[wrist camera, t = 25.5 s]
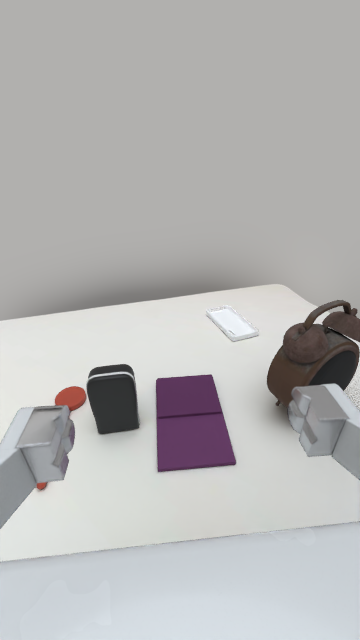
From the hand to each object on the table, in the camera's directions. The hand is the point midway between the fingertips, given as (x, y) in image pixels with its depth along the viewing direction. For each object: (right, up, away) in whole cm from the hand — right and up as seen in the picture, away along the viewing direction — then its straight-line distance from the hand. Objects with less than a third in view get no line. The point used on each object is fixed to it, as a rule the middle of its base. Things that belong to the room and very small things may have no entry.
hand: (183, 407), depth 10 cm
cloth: (+1, -13, +37) cm, 39 cm away
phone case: (+13, +2, +63) cm, 64 cm away
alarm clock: (+21, -12, +38) cm, 45 cm away
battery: (-10, -14, +36) cm, 40 cm away
